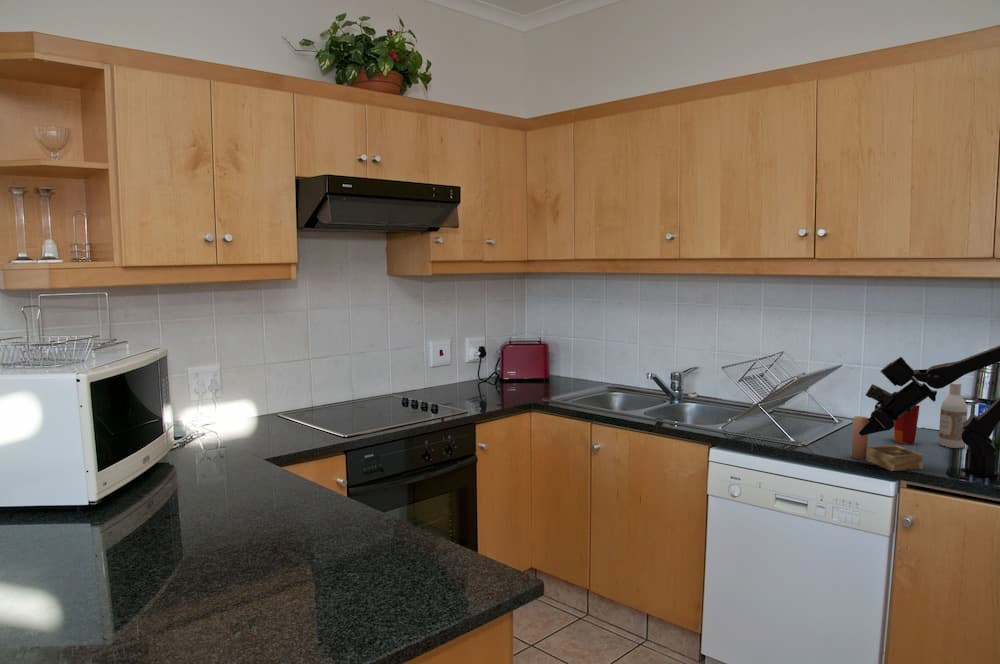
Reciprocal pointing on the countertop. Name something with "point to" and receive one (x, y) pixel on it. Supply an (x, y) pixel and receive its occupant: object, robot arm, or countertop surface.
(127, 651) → the countertop surface
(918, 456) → the box
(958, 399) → the bath foam
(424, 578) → the countertop surface
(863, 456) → the peg
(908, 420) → the paper cup
